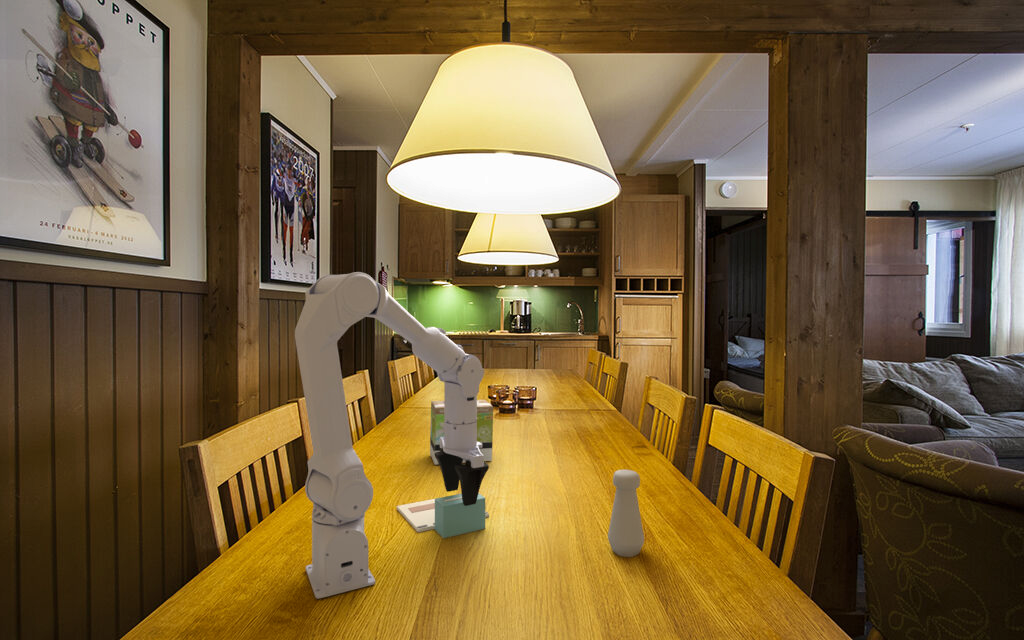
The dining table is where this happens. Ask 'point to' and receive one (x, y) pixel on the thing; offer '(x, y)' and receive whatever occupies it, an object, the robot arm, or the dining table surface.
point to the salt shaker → (626, 515)
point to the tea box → (482, 428)
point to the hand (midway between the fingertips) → (460, 497)
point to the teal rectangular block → (458, 515)
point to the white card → (421, 514)
